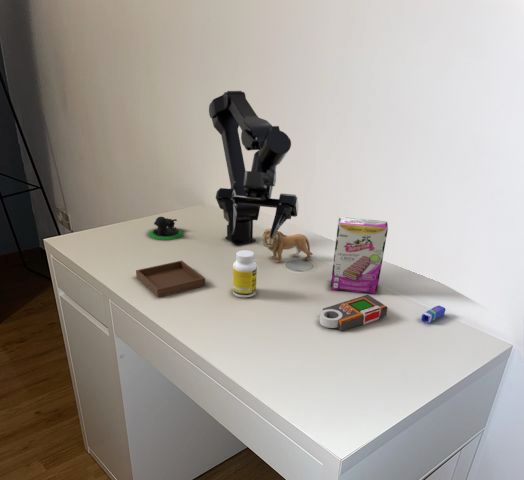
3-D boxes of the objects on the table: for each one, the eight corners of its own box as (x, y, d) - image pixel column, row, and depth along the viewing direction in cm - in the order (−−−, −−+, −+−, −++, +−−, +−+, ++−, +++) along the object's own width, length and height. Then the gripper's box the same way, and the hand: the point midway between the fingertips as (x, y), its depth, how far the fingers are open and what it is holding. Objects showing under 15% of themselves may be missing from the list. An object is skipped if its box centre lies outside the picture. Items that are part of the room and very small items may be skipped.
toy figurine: (188, 229, 160) (187, 210, 156) (176, 241, 151) (175, 221, 148) (156, 226, 161) (155, 207, 158) (142, 237, 153) (140, 217, 150)
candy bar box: (329, 290, 128) (337, 223, 119) (330, 281, 132) (337, 216, 123) (377, 295, 127) (388, 227, 118) (377, 286, 131) (387, 220, 122)
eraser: (420, 320, 117) (422, 312, 116) (436, 312, 120) (438, 304, 119) (427, 324, 115) (429, 316, 114) (444, 316, 119) (446, 308, 118)
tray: (182, 267, 136) (181, 260, 135) (205, 285, 128) (205, 278, 127) (136, 277, 130) (135, 270, 129) (157, 297, 122) (157, 289, 121)
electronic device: (313, 310, 114) (369, 292, 120) (313, 322, 116) (367, 304, 122) (332, 324, 109) (389, 305, 115) (331, 336, 111) (387, 317, 117)
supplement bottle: (255, 298, 123) (256, 258, 118) (231, 297, 123) (231, 257, 118) (256, 288, 128) (257, 249, 122) (233, 287, 128) (233, 248, 122)
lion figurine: (266, 266, 138) (267, 233, 134) (258, 259, 143) (258, 226, 138) (316, 259, 144) (319, 226, 139) (307, 252, 148) (310, 220, 143)
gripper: (217, 151, 121) (204, 215, 117) (300, 158, 118) (288, 223, 114) (226, 178, 131) (214, 237, 128) (302, 185, 128) (292, 245, 125)
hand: (251, 235), depth 124 cm, fingers open, 9 cm apart
